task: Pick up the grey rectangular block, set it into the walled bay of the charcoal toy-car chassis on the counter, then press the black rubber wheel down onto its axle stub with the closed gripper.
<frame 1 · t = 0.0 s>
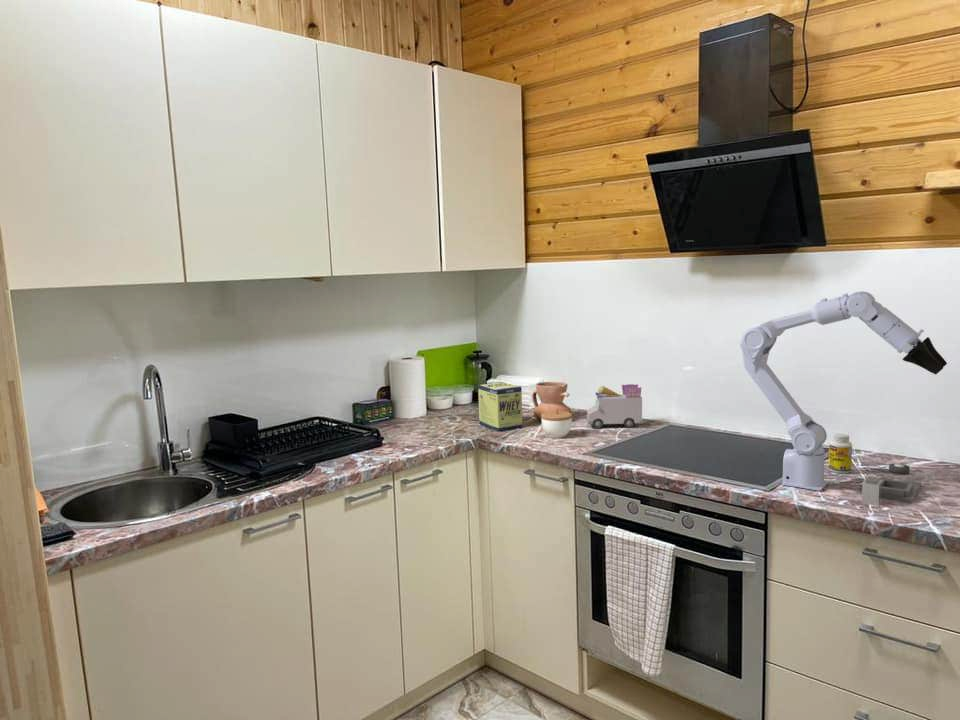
hand: (941, 369, 159), 32 cm above the worktop, tool tilted 50°, fingers open, 7 cm apart
supplement bottle: (839, 471, 191), on the worktop
toy vehicle: (614, 426, 253), on the worktop
ceramic jug: (551, 420, 268), on the worktop
grey rectangular block: (871, 501, 167), on the worktop
protein box: (500, 426, 259), on the worktop
wheel: (899, 468, 175), point 5 cm above the worktop, slide at 2.0 cm
lidded jar: (556, 436, 241), on the worktop
chassis: (896, 491, 173), on the worktop
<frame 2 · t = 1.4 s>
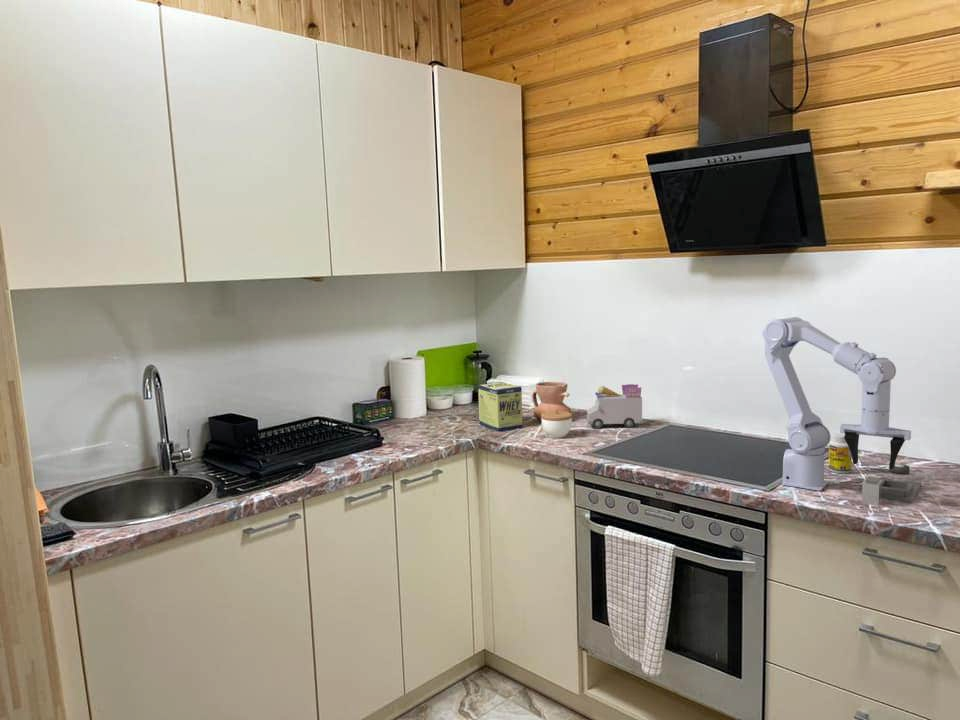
hand: (873, 465, 166), 9 cm above the worktop, tool pointing down, fingers open, 7 cm apart
nothing on the worktop moved.
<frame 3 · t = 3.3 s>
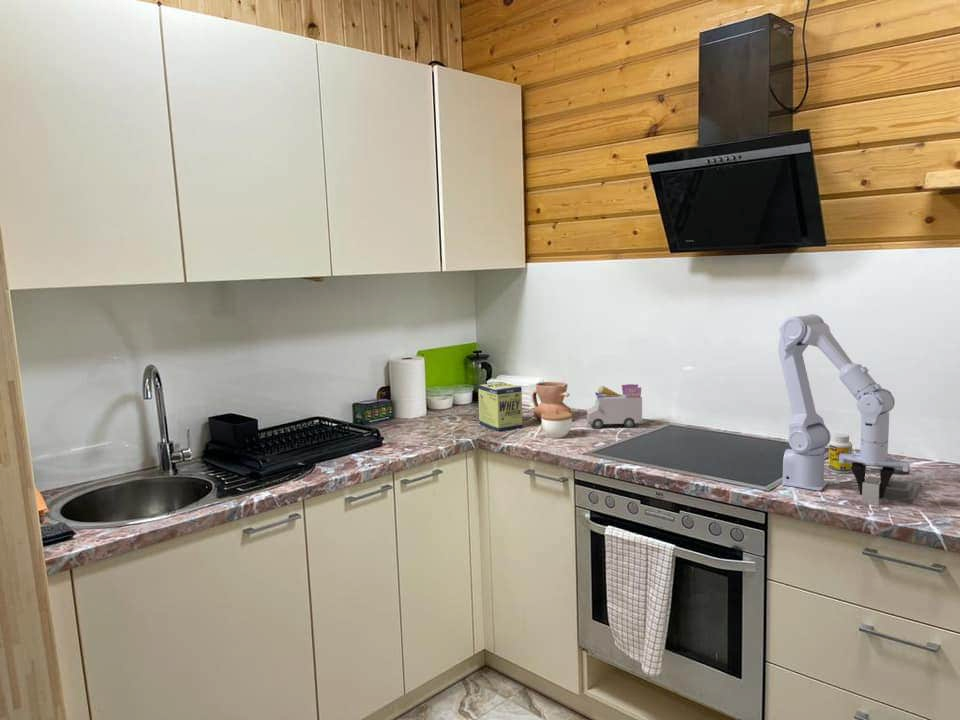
hand: (872, 495, 167), 1 cm above the worktop, tool pointing down, fingers closed on grey rectangular block, 3 cm apart
grey rectangular block: (871, 501, 167), on the worktop, touching gripper
everything else where it was.
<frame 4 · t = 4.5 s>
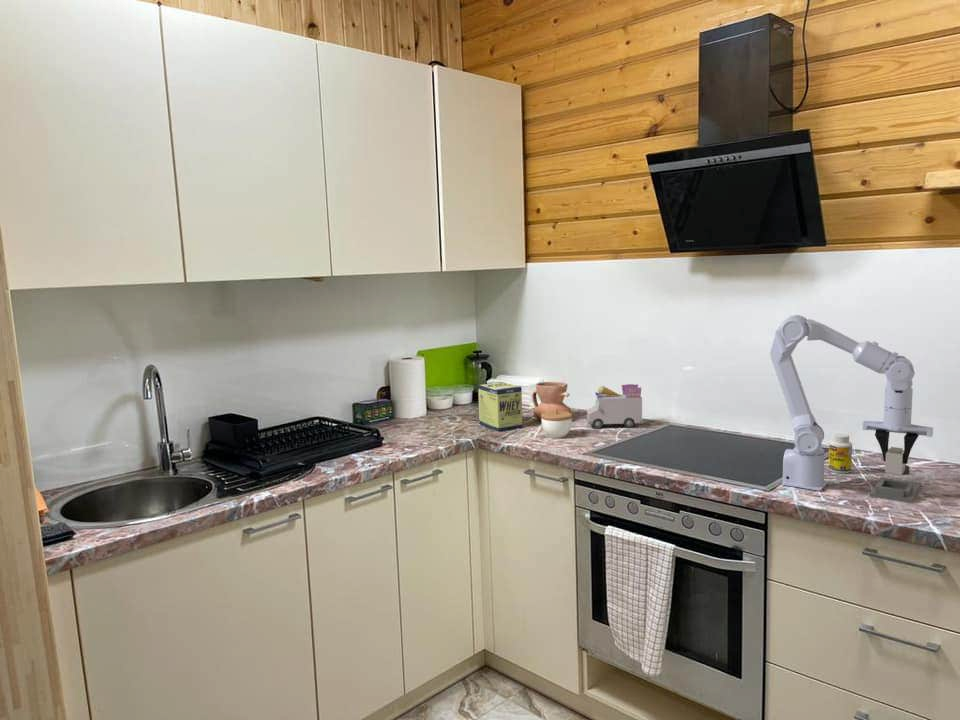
hand: (895, 461, 170), 8 cm above the worktop, tool pointing down, fingers closed on grey rectangular block, 3 cm apart
grey rectangular block: (894, 471, 170), point 6 cm above the worktop, touching gripper
everything else where it was.
when the fingers open (3 cm above the worktop, at t = 6.2 s): grey rectangular block stays where it is, resting on chassis.
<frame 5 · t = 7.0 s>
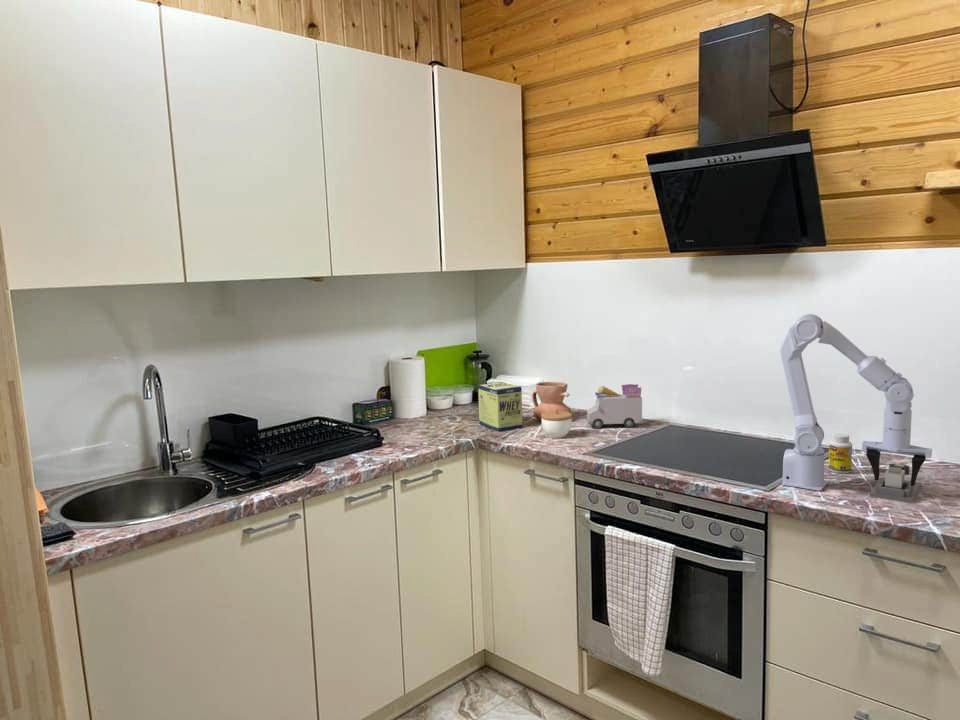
hand: (894, 482, 170), 3 cm above the worktop, tool pointing down, fingers open, 7 cm apart
grey rectangular block: (894, 491, 171), point 1 cm above the worktop, touching chassis
everything else where it was.
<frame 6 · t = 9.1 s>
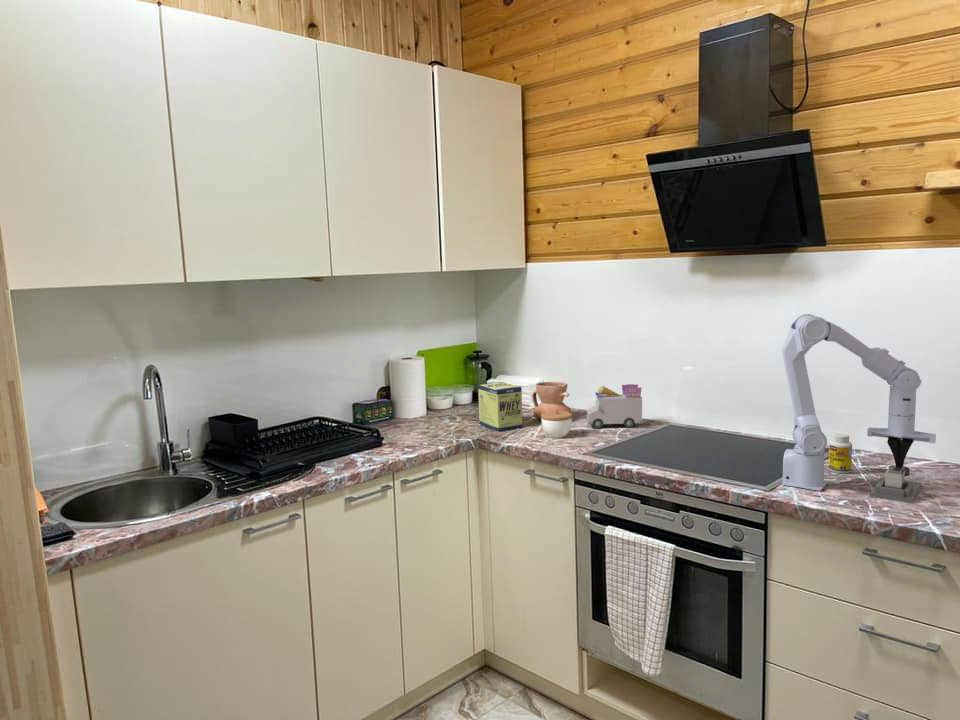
hand: (899, 467, 175), 5 cm above the worktop, tool pointing down, fingers closed, pressing on wheel
wheel: (899, 470, 175), point 5 cm above the worktop, slide at 1.5 cm, touching gripper
everything else where it was.
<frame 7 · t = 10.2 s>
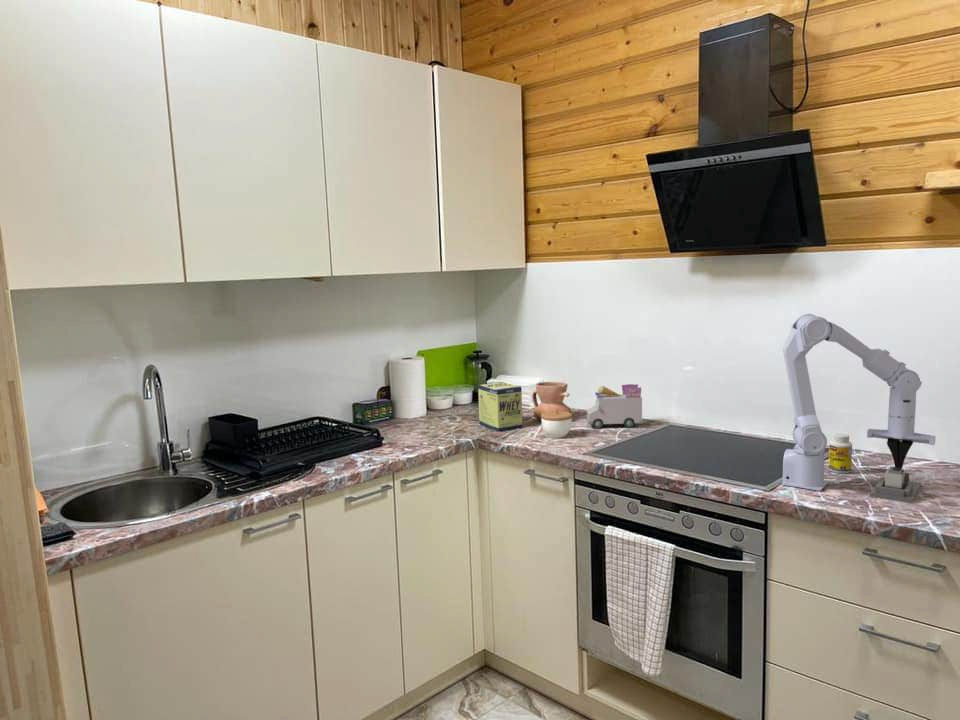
hand: (898, 468, 175), 5 cm above the worktop, tool pointing down, fingers closed
wheel: (898, 476, 175), point 3 cm above the worktop, slide at 0.0 cm
everything else where it was.
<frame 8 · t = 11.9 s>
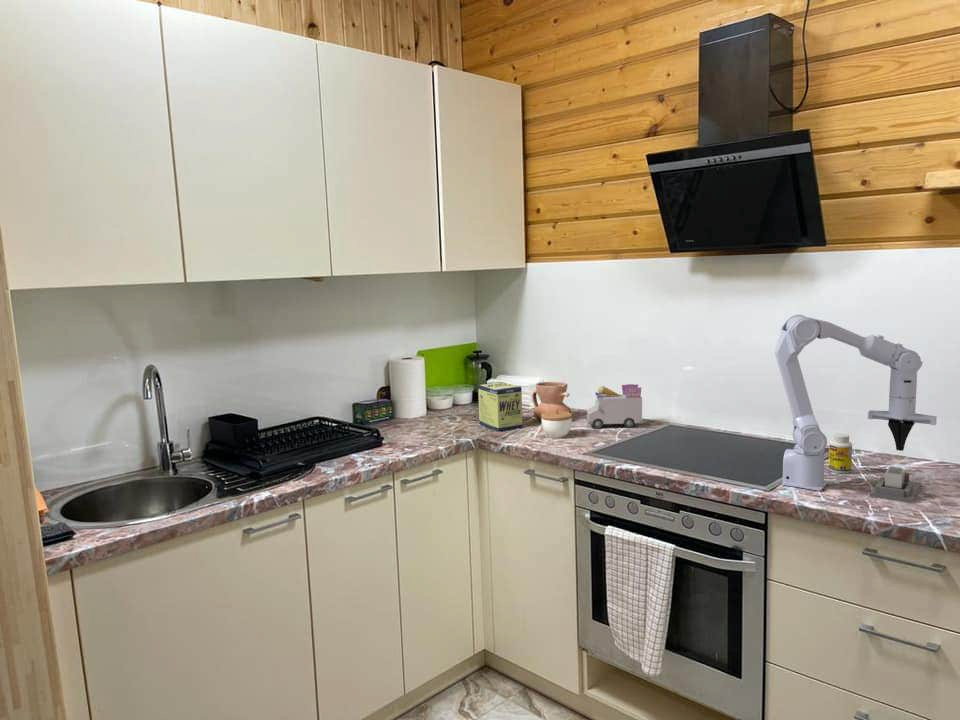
hand: (900, 449, 175), 10 cm above the worktop, tool pointing down, fingers closed
nothing on the worktop moved.
at the end: grey rectangular block 0.2 cm from the target spot on the chassis, point 1.0 cm above the chassis's base; grey rectangular block tilted 0°; wheel slide at 0.0 cm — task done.
